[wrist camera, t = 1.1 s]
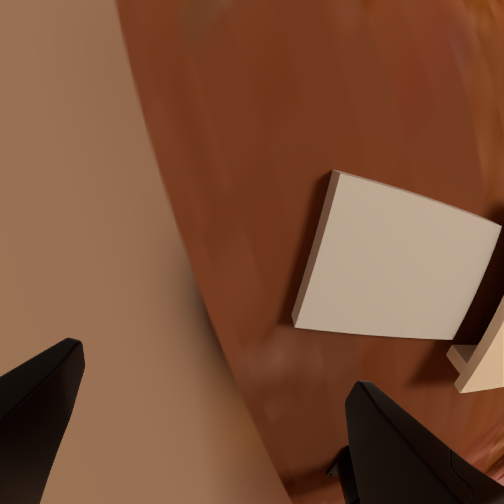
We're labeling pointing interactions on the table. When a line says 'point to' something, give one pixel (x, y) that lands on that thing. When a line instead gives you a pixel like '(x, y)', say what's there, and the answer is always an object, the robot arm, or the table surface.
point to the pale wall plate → (391, 262)
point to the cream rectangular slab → (481, 358)
